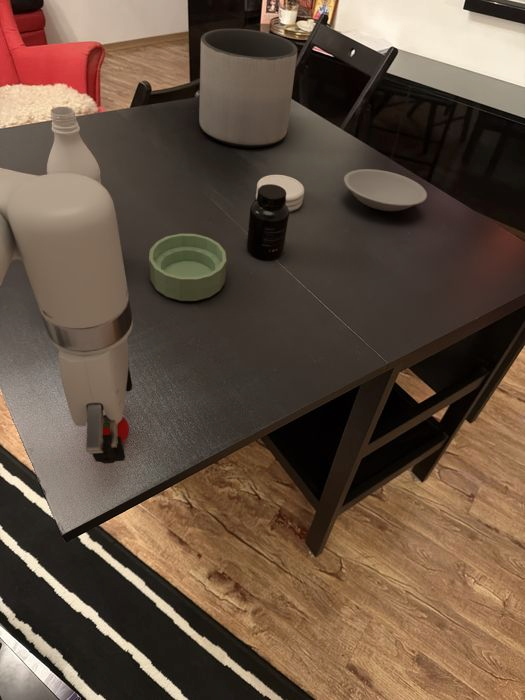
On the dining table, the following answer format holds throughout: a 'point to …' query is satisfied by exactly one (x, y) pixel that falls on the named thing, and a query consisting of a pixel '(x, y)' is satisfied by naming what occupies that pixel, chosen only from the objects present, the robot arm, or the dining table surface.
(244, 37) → the planter
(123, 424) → the cherry tomato
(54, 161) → the water bottle
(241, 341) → the dining table surface
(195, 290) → the bowl
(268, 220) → the supplement bottle
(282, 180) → the white round flat stack
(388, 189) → the dish
